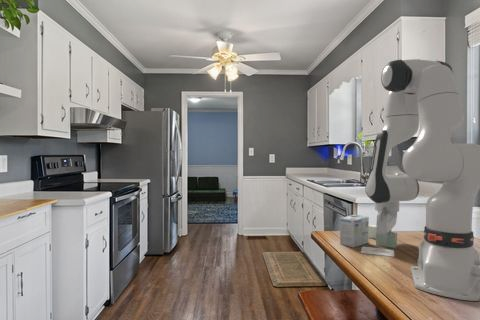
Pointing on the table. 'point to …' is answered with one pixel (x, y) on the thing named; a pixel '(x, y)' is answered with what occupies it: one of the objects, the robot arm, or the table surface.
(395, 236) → the brick
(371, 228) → the brick
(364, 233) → the light bulb box
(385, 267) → the table surface
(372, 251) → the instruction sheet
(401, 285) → the table surface
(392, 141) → the robot arm
